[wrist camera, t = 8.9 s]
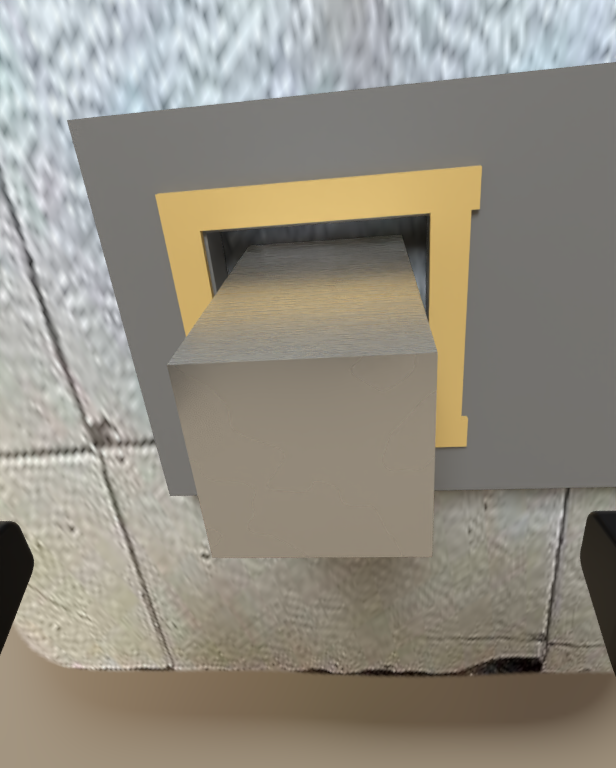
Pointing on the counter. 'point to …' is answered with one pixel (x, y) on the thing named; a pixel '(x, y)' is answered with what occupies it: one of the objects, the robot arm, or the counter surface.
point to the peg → (313, 404)
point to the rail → (385, 201)
